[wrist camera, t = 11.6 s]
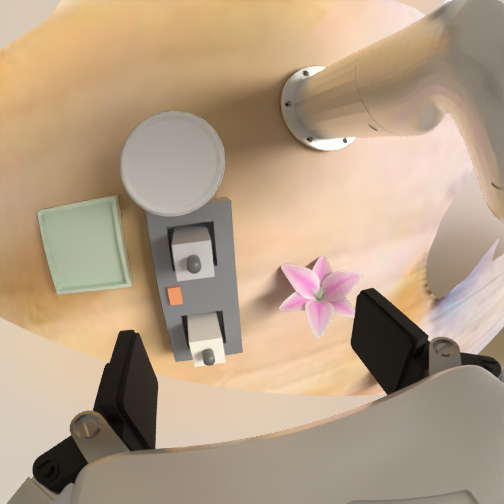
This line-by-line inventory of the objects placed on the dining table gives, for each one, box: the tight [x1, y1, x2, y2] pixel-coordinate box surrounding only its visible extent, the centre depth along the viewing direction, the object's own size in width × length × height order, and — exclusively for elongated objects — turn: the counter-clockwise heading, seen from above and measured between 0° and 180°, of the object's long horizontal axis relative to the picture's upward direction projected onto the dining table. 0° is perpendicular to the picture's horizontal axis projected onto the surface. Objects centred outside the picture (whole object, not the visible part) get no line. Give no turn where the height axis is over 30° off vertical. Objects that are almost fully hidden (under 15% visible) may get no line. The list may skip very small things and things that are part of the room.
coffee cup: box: [120, 111, 225, 216], centre depth 27 cm, size 9×9×12 cm
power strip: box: [146, 197, 243, 362], centre depth 36 cm, size 22×10×4 cm, turn 3°
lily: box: [279, 256, 363, 339], centre depth 39 cm, size 12×12×10 cm
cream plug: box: [187, 311, 226, 367], centre depth 35 cm, size 4×4×10 cm
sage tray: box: [37, 195, 133, 295], centre depth 32 cm, size 12×12×2 cm
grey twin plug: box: [172, 223, 215, 281], centre depth 31 cm, size 4×4×10 cm
